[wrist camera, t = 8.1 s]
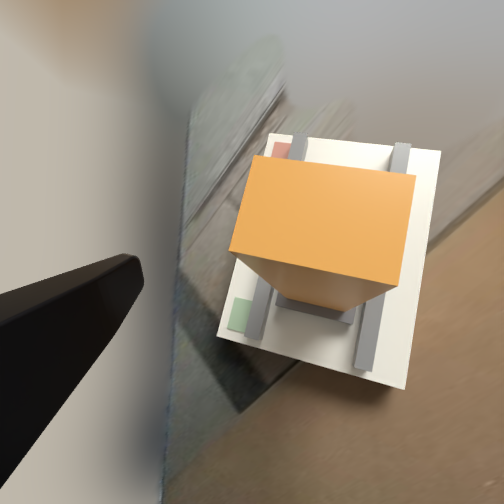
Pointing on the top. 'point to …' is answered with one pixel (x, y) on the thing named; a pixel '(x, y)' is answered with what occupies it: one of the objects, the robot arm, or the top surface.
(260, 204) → the handle
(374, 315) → the plate
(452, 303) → the top surface
